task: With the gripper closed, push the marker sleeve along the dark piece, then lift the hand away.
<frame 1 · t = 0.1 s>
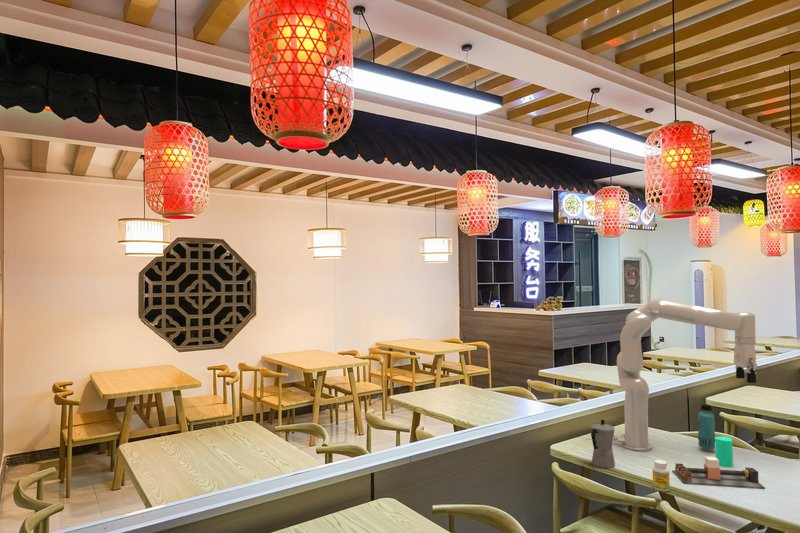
hand: (745, 380, 222), 31 cm above the table, tool pointing down, fingers open, 9 cm apart
beverage bottle: (706, 451, 224), on the table
supplement bottle: (661, 489, 184), on the table
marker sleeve: (712, 467, 192), point 4 cm above the table, slide at 0.0 cm
candle: (724, 464, 207), on the table
coffeepot: (601, 465, 207), on the table
dark piece: (716, 479, 191), on the table
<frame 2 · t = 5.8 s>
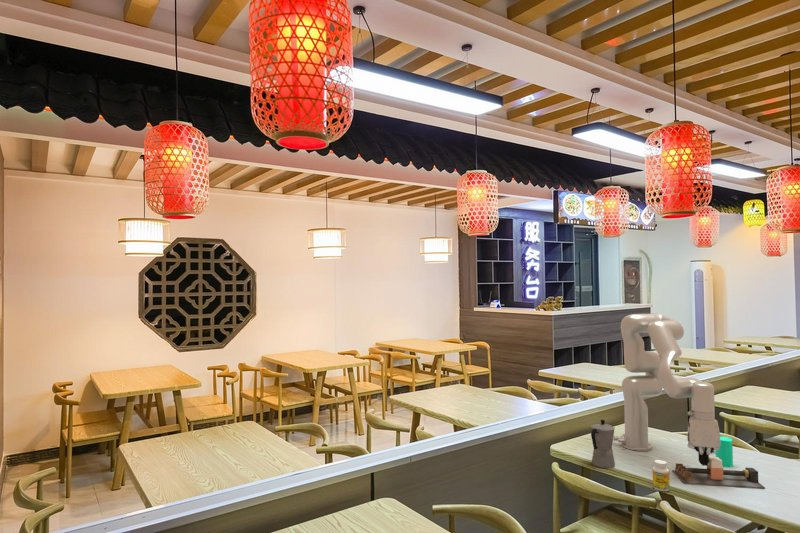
hand: (703, 464, 192), 6 cm above the table, tool pointing down, fingers closed
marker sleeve: (714, 468, 192), point 4 cm above the table, slide at 1.0 cm, touching gripper
everything else where it was.
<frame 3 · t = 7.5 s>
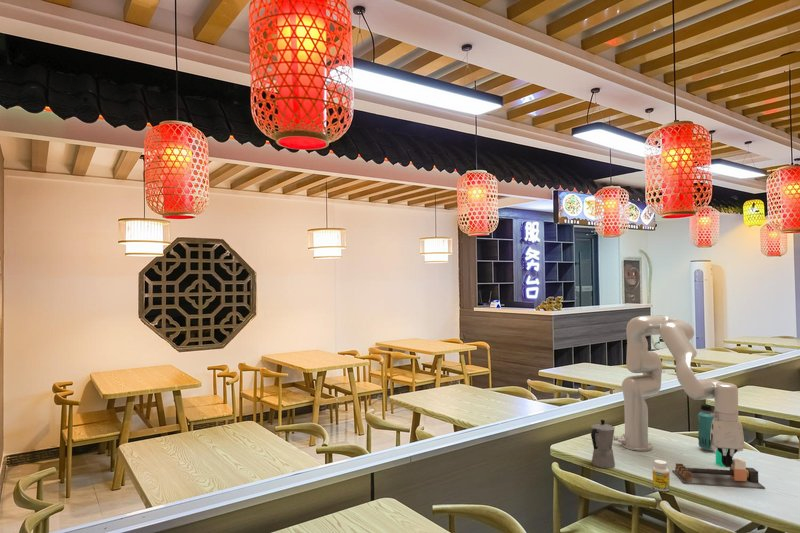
hand: (726, 465, 191), 6 cm above the table, tool pointing down, fingers closed
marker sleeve: (738, 469, 190), point 4 cm above the table, slide at 8.9 cm, touching dark piece, gripper
everything else where it was.
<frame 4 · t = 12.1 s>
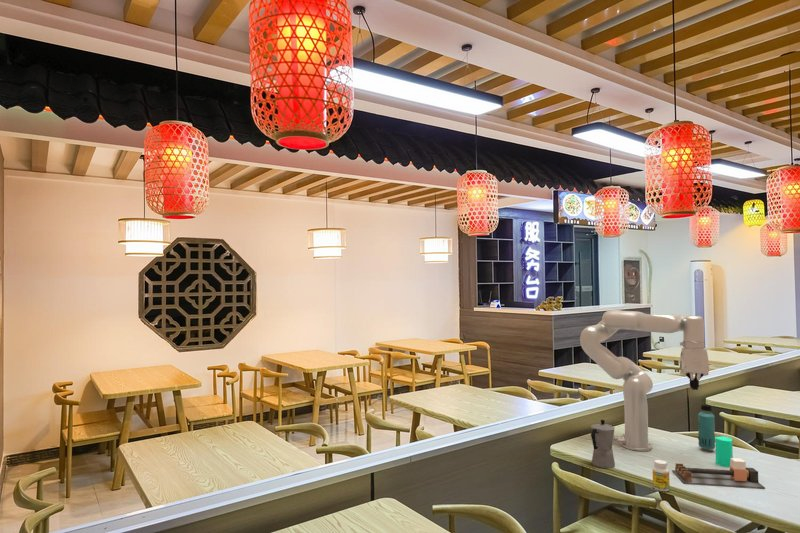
hand: (694, 389, 215), 29 cm above the table, tool pointing down, fingers closed
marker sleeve: (738, 469, 190), point 4 cm above the table, slide at 8.9 cm, touching dark piece
everything else where it was.
at the end: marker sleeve slide at 8.9 cm; the gripper is holding nothing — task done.
